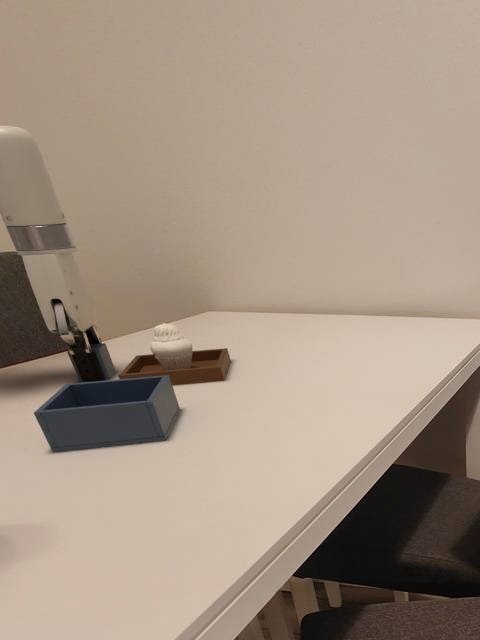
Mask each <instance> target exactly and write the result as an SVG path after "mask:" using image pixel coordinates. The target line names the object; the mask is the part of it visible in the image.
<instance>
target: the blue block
mask: <svg viewBox="0 0 480 640" xmlns="http://www.w3.org/2000/svg"><path fill="white" fill-rule="evenodd" d="M90 348H91V351H92V352H95V354H96V357H97V359H98V362H99V364H100V367H101V369H102V372H103V374H104V377H105V379H104V380H103V381H106V380H112V379H113V378H114V376H115V375H116V374H117V370H116V367H115V365H114V362H113V359H112V357H111V354H110V352H109V349H108V347H107V344H106V343H102V344H91V345H90ZM67 355H68V357H69V361H70V362H71V364H72V367H73V369H74V371H75V374H76V377H77V378H78V381H79V383H83V382H84V381H82V379H81V377H80V374H79V372H78V370H77V367H76V365H75V362H74V360H73V358H72V355H71V354H70V352H69V350H67Z"/></svg>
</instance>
